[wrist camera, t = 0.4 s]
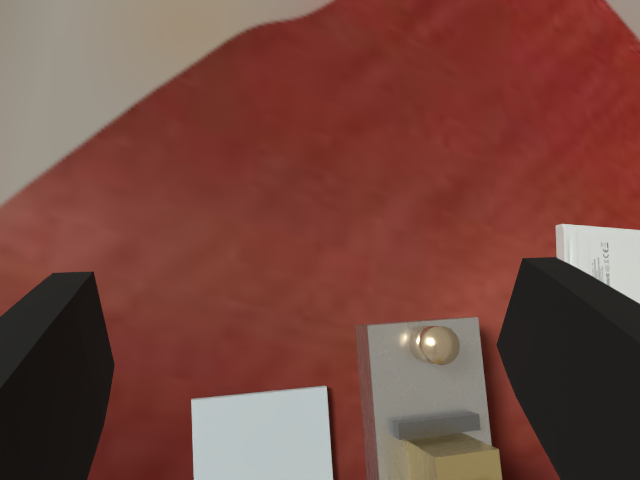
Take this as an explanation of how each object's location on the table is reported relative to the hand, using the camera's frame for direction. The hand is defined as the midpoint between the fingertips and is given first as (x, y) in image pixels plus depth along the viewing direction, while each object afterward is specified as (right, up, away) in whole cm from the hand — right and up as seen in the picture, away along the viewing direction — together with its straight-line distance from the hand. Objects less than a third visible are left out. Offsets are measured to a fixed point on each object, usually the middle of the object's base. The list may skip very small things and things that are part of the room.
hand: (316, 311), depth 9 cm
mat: (-4, -15, +26) cm, 30 cm away
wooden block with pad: (+8, -14, +25) cm, 30 cm away
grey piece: (+7, -15, +28) cm, 32 cm away
